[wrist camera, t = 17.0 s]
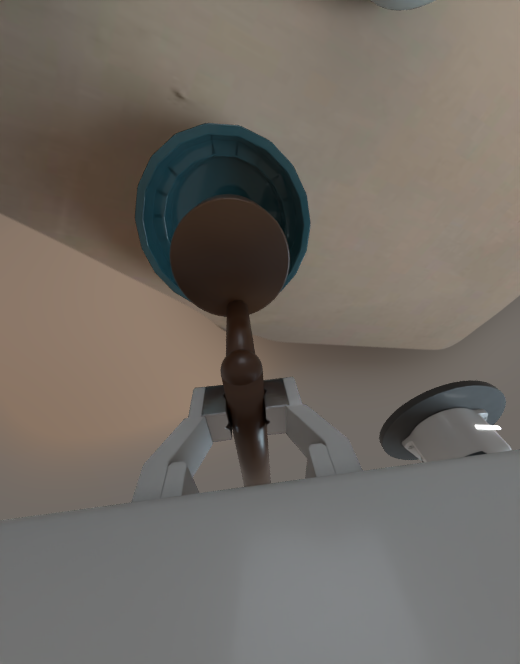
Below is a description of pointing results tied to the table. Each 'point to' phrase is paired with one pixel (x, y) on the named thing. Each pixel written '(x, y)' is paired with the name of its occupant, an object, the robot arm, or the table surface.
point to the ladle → (235, 303)
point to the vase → (401, 4)
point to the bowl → (217, 188)
